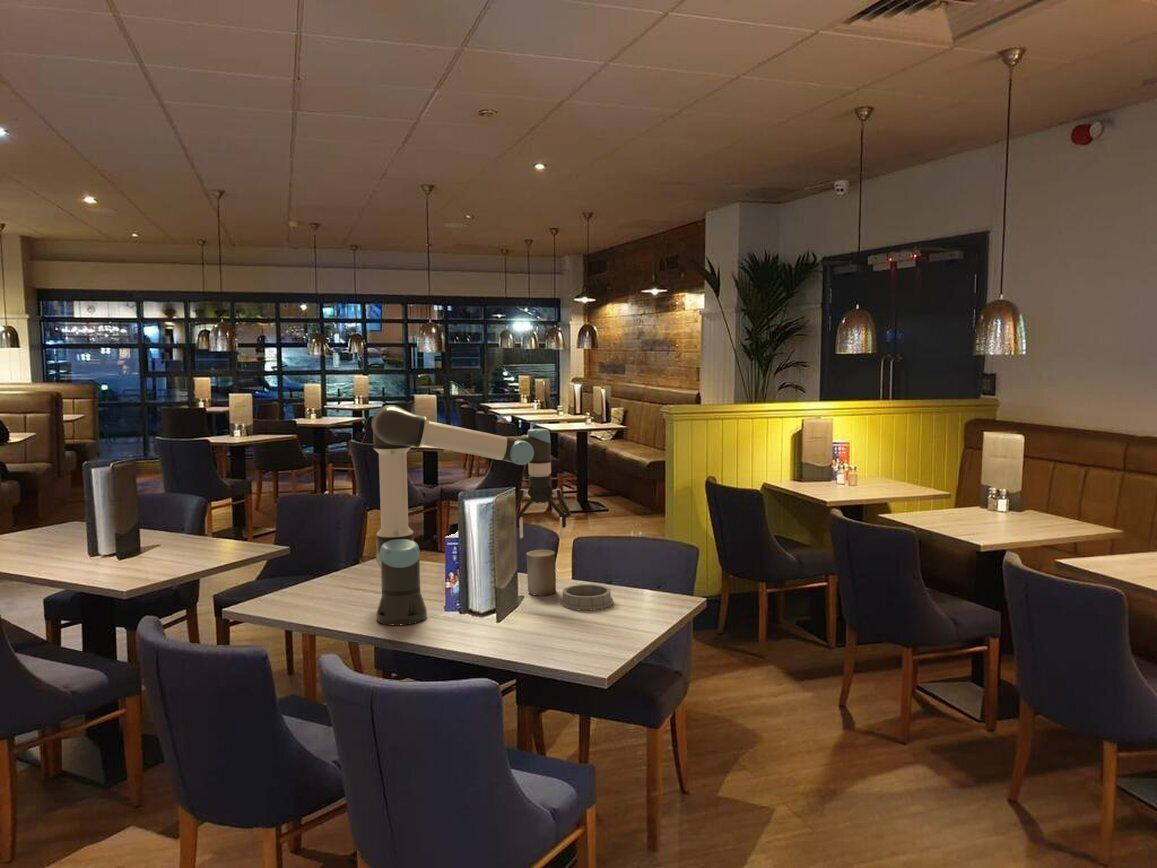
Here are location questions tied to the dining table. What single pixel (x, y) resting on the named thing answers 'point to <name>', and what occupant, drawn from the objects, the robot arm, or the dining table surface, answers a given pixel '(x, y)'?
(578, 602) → the candle dish
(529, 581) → the pillar candle
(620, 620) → the dining table surface
